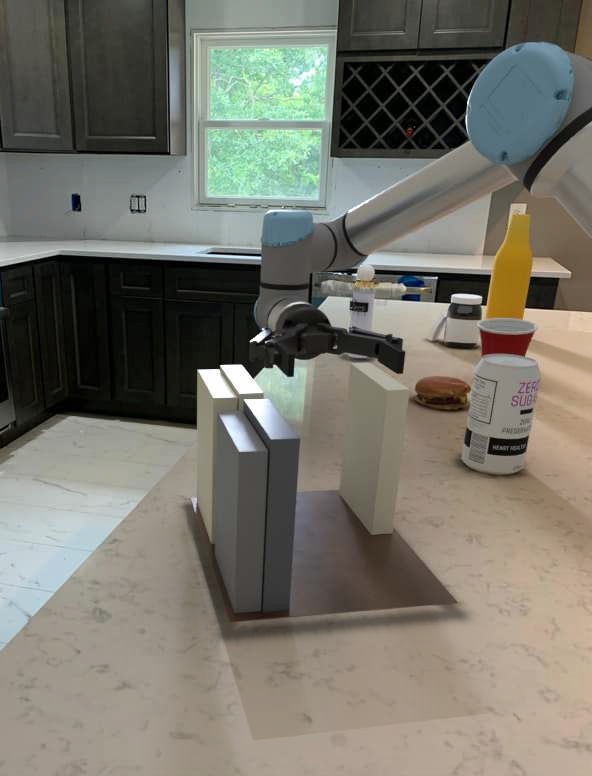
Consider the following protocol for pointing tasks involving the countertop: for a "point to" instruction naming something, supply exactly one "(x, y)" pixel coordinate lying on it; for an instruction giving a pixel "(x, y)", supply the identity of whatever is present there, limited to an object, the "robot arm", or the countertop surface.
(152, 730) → the countertop surface
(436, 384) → the burger
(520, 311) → the beer bottle
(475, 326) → the spread jar
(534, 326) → the plastic cup
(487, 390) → the supplement can
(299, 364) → the countertop surface
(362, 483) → the cream book
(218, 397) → the cream books
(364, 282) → the perfume bottle
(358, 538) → the shelf board
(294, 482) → the grey books
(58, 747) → the countertop surface
